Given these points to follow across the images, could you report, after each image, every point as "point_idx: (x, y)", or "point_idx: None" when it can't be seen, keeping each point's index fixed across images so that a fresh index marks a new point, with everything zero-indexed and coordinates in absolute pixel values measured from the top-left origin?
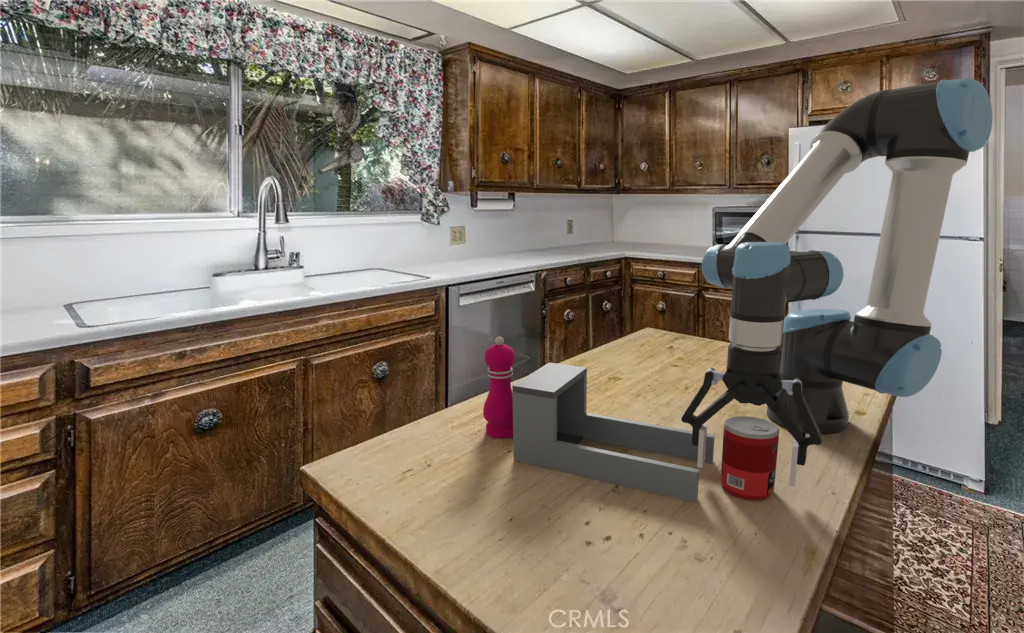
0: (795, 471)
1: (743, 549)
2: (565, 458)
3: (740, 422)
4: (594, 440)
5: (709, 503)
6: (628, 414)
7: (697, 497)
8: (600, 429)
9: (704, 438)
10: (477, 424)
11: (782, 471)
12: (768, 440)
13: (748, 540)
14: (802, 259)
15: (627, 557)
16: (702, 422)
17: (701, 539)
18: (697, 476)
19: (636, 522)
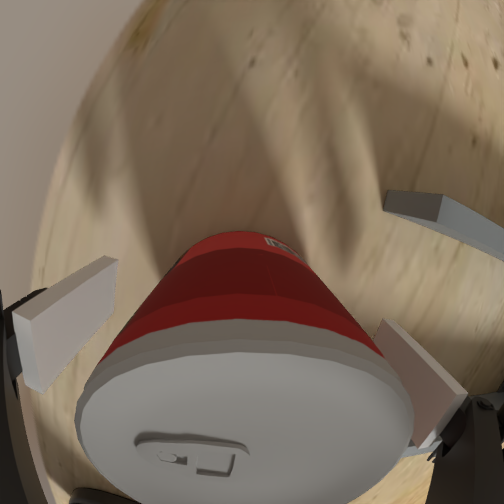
0: (78, 271)
1: (289, 9)
2: None
3: (297, 493)
4: (488, 393)
5: (356, 191)
6: (405, 486)
7: (387, 206)
8: (495, 407)
9: (422, 388)
10: None
11: None
12: (136, 334)
13: (273, 36)
14: None
15: (463, 16)
16: (479, 418)
17: (375, 37)
18: (434, 194)
19: (478, 101)
